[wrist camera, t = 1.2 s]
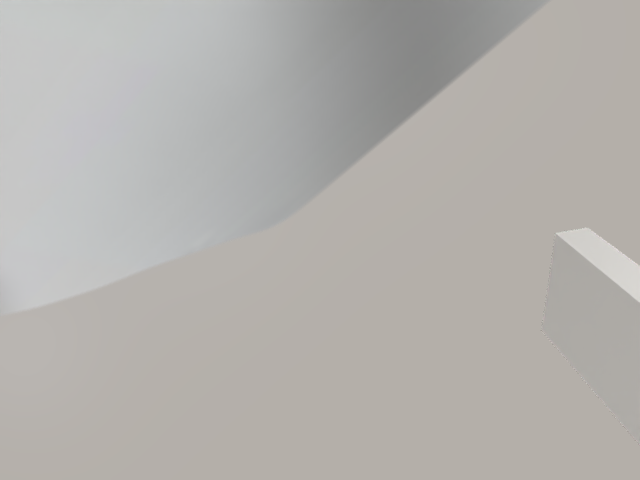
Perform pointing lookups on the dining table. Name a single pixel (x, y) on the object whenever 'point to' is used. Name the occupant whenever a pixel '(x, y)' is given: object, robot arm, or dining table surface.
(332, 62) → the dining table surface
